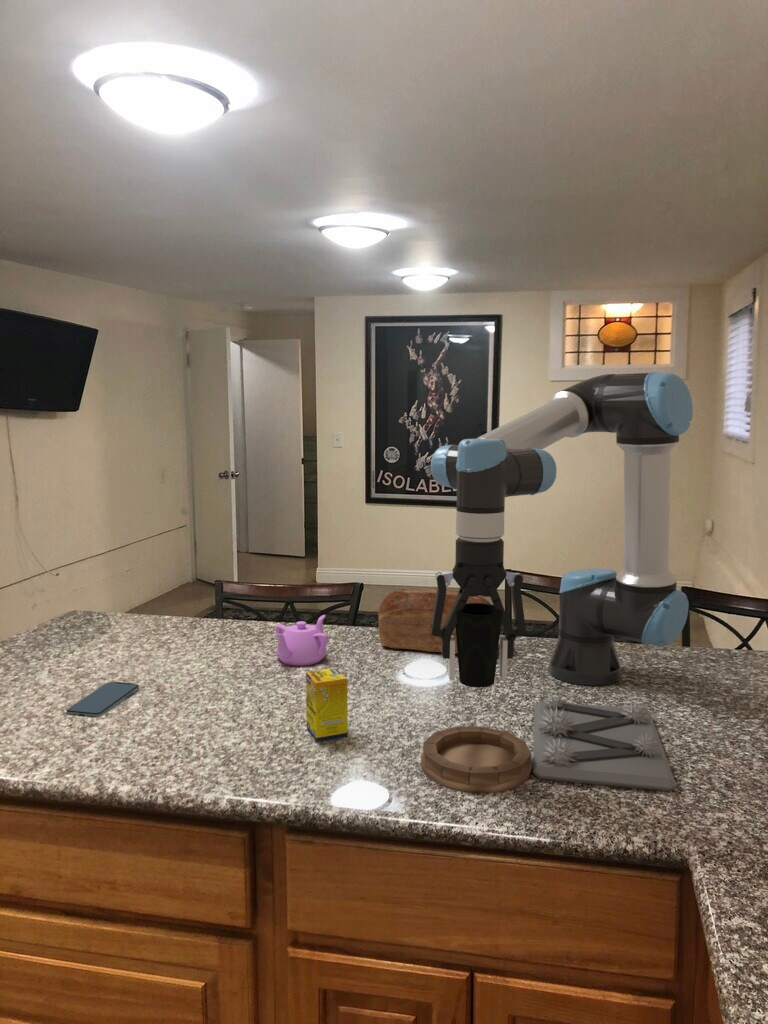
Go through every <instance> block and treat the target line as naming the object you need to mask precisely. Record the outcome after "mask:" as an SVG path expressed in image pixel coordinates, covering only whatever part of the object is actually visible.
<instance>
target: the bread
mask: <svg viewBox="0 0 768 1024" xmlns="http://www.w3.org/2000/svg"><path fill="white" fill-rule="evenodd" d="M458 591H459V590H455V589H447V588H446V597H445V603H444V609H443V615H442V621H441V626H440V627H441V628H443V627H444V625H445V623H446V620H447V618H448V616H449V614H450V611H451V609H452V607H453V604H454V602H455V600H456V598H457V594H458ZM436 593H437V588H436V587H434V588H433V587H432V588H431V587H430V588H418V587H415V588H401V589H397V590H394V591H392V592H389V593H388V594H386V595H385V596H384V598H383V599H382V601H381V603H380V605H379V607H378V611H377V616H378V634H379V640H380V644H381V645H382V646H383V647H387V648H390V649H403V650H404V649H405V650H414V651H415V650H416V651H423V652H424V651H425V652H431V653H442V638H440V637H438V636H433V635H432V632H431V623H432V617H433V611H434V605H435V599H436ZM466 603H485V604H491V602H490V601H489V600H487V599H486V598H484V596H480V595H479V596H476V597H470V596H469V598H468V601H467V602H466ZM451 636H454V639H455V655H456V654H457V655H458V653H457V640H456V627H455V629H454V631H453V633H452V635H451Z"/></svg>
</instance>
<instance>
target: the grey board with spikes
mask: <svg viewBox="0 0 768 1024" xmlns="http://www.w3.org/2000/svg"><path fill="white" fill-rule="evenodd" d="M546 695H547V697H545V698H544V700H545V701H542V700H540V701H539V702H537V703H536V704H534V705H533V706H534V707H533V710H534V711H533V713H534V714H533V749H532V750H533V751H532V752H533V754H532V755H533V756H532V757H533V758H532V759H533V761H532V773H533V774H534V775H535V776H536V777H537V778H538V779H539V780H544V781H545V780H548V781H558V782H565V783H567V782H568V783H579V784H589V785H599V786H607V787H608V786H609V787H610V786H611V787H618V788H629V789H630V788H631V789H639V790H640V789H641V790H650V791H659V792H660V791H661V792H671V791H672V790H674V788H676V787H677V782H676V781H675V777H674V775H673V772H672V770H671V766H670V764H669V761H668V759H667V755H666V752H665V749H664V747H663V744H662V741H661V739H660V736H659V734H658V731H657V728H656V725H655V722H654V719H653V716H652V714H651V713H650V712H649V711H648V710H649V708H647V709H646V708H645V709H644V707H645V705H646V703H644V704H643V705H642V703H641V702H639V703H638V705H637V701H634V703H633V704H632V702H629V706H628V704H626V703H624V705H625V706H626V707H621V706H607V705H594V704H580V703H568V702H567V700H566V698H563V696H564V695H563V694H562V695H561V693H559V694H558V695H557V693H556V691H555V692H554V695H553V693H552V692H551V695H549V694H548V693H547V694H546ZM562 698H563V699H562ZM565 700H566V701H565Z"/></svg>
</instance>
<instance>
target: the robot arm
mask: <svg viewBox="0 0 768 1024" xmlns="http://www.w3.org/2000/svg"><path fill="white" fill-rule="evenodd" d="M693 411H694V407H693V399H692V396H691V392H690V389H689V387H688V385H687V384H686V383H685V381H684V379H683V378H681V376H679V375H678V374H674V373H670V372H658V371H657V372H656V371H652V372H640V373H639V372H637V373H618V374H617V373H606V374H600V375H598V376H593V377H591V378H587V379H585V380H583V381H581V382H578V383H575V384H574V385H571V386H569V387H567V388H564V389H562V390H560V391H558V392H556V393H554V394H553V395H552V396H551V398H550V399H549V400H548V402H547V403H545V404H543V405H541V406H539V407H537V408H535V409H534V410H533V409H532V411H529V412H527V413H525V414H523V415H520V416H518V417H517V418H515V419H513V420H511V421H508V422H507V423H505V424H503V425H501V426H498V427H496V428H494V429H492V430H491V431H488V432H486V433H484V434H482V435H480V436H478V437H476V438H464V439H462V440H461V441H460V442H459V443H458V445H457V444H449V445H442V446H439V447H438V448H437V449H436V450H435V451H434V453H433V455H432V457H431V460H430V461H431V462H430V470H431V471H430V472H431V476H432V478H433V480H434V482H435V483H437V484H438V485H440V486H442V487H447V488H451V489H452V490H453V489H454V490H455V489H456V518H455V519H456V521H455V534H456V535H457V536H458V537H457V538H456V539H455V561H454V563H455V564H454V566H453V569H452V571H448V572H444V573H443V572H441V571H438V572H436V573H435V580H436V584H437V585H436V586H437V593H436V599H435V605H434V611H433V617H432V623H431V632H432V635H433V636H438V637H440V638H442V652H441V654H442V655H441V656H442V658H443V660H445V659H446V660H448V661H447V662H448V663H447V664H448V666H447V676H448V679H449V681H455V679H456V678H455V675H456V674H455V672H456V669H455V668H456V664H455V662H456V653H455V639H454V636H451V635H452V633H453V631H454V629H455V626H456V624H457V611H459V612H462V610H463V608H464V606H465V604H466V602H467V601H468V598H469V596H470V597H476V596H480V597H483V598H484V597H485V598H489V597H490V599H491V603H492V605H494V607H495V610H496V612H497V613H498V612H500V611H502V620H501V628H502V630H503V632H504V635H500V638H499V659H498V661H499V664H498V666H499V667H498V675H499V677H500V679H501V681H507V679H508V678H507V676H508V672H507V671H508V659H513V658H514V655H515V640H516V638H517V637H520V636H521V637H522V636H525V635H526V634H527V627H526V621H525V620H526V619H525V611H524V606H523V597H522V591H521V590H522V586H523V581H524V577H523V575H522V574H521V573H520V572H518V571H515V572H510V571H507V570H506V569H505V566H504V555H505V554H504V550H505V541H504V540H503V538H502V537H503V536H504V535H505V510H506V509H505V506H506V503H505V502H506V498H510V497H516V496H519V497H520V496H528V495H530V496H535V495H537V494H540V493H544V492H546V491H548V490H549V489H551V487H552V486H553V485H554V484H555V481H556V479H557V464H556V462H555V459H554V458H553V456H552V455H551V453H549V452H548V451H546V450H544V449H545V448H548V447H549V446H551V445H554V444H555V443H557V442H559V441H561V440H562V439H564V438H569V439H570V438H576V437H579V436H581V435H583V434H586V433H610V434H611V433H612V434H613V433H614V434H616V435H615V436H616V439H615V440H616V446H618V447H619V448H620V449H621V450H622V451H623V455H624V456H623V459H624V461H623V462H624V463H623V473H624V474H623V569H622V570H621V571H620V572H618V573H617V571H616V570H613V569H609V568H585V569H577V570H576V569H575V570H571V571H567V572H566V573H564V574H563V575H562V576H561V581H560V588H559V592H558V593H559V617H558V618H559V619H558V638H557V640H556V645H555V647H554V648H553V652H552V654H551V657H550V659H549V670H548V671H549V674H551V676H552V677H554V678H555V679H558V680H560V681H563V682H566V683H571V684H575V685H581V686H606V685H607V686H608V685H611V684H615V683H617V682H618V681H619V680H620V679H621V675H622V674H621V673H622V672H621V671H622V667H621V662H620V660H619V657H618V656H619V655H618V652H617V649H616V645H615V642H614V641H615V637H618V638H619V637H620V638H622V639H626V640H629V641H634V642H638V643H642V644H643V645H648V646H649V645H650V646H651V645H652V646H656V647H666V646H669V645H672V644H673V642H675V641H676V639H678V637H679V636H680V634H681V632H682V631H683V629H684V627H685V624H686V622H687V619H688V614H689V606H690V605H689V604H690V603H689V599H688V597H687V595H686V593H684V592H683V591H682V590H677V589H678V588H677V584H678V583H677V577H676V576H675V575H674V574H673V572H671V571H670V570H669V569H670V565H669V564H670V519H671V517H670V514H671V513H670V507H671V452H672V450H673V449H674V448H675V447H676V446H678V445H679V443H680V435H683V434H685V433H686V432H687V431H688V430H689V428H690V426H691V421H692V420H693ZM453 580H454V581H455V582H456V584H457V586H459V589H458V590H457V591H458V594H457V598H456V600H455V602H454V604H453V607H452V609H451V611H450V614H449V616H448V618H447V620H446V623H445V625H444V627H443V628H441V627H440V626H441V621H442V615H443V609H444V603H445V597H446V589H447V587H449V586H450V585H451V582H452V581H453ZM505 580H506V582H507V585H508V586H509V587H510V594H511V603H512V609H513V618H514V625H515V626H513V627H512V624H511V623H510V620H509V618H508V615H507V613H506V610H505V608H504V605H503V602H502V600H501V599H502V598H501V597H500V595H499V594H500V593H499V591H498V589H499V587H500V586H501V585H502V584H503V582H504V581H505Z"/></svg>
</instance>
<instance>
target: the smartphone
mask: <svg viewBox="0 0 768 1024" xmlns="http://www.w3.org/2000/svg"><path fill="white" fill-rule="evenodd" d="M138 691H140V684H138V683H132V682H122V681H121V682H120V681H109V682H106V683H105V684H103V685H102V686H100V687H99V688H97V689H94V691H93V692H91V693H89V694H87V695H86V696H85V697H83V698H82V699H80V700H79V701H77V702H76V703H74V704H73V705H71V706H70V707H68V708H67V709H66V714H67V715H69V716H70V715H71V716H81V717H88V718H89V717H91V718H100V717H102V716H104V715H106V714H107V713H108V712H110V711H111V710H113V709H114V708H116V707H117V706H119V705H120V704H122V703H124V701H126V700H128V699H129V698H130V697H132V696H133V695H134V694H136V693H137V692H138Z"/></svg>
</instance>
